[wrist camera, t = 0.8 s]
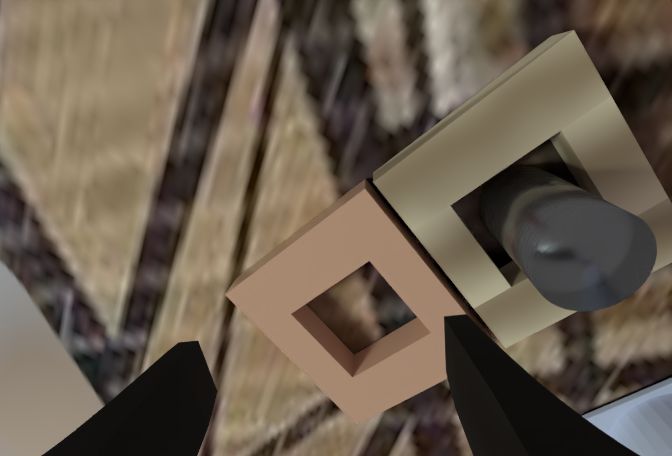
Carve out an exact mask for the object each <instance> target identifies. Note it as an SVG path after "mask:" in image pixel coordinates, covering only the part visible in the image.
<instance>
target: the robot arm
mask: <svg viewBox="0 0 672 456" xmlns="http://www.w3.org/2000/svg"><path fill="white" fill-rule="evenodd" d="M444 333H445V360H446V374H447V378H448V382H449V386H450V390H451V393H452V397H453V401H454V405H455V408H456V411H457V413H458V416H459V419H460V421H461V424H462V427H463V429H464V432H465V435H466V437H467V440H468V443H469V445H470V448H471V450H472V453H473V456H672V378H669V379H667V380H664V381H662V382H660V383H657V384H655V385H653V386H650V387H648V388H646V389H643V390H641V391H639V392H636V393H634V394H632V395H629V396H627V397H625V398H622V399H620V400H618V401H615V402H613V403H610V404H608V405H606V406H603V407H601V408H599V409H596V410H594V411H592V412H589V413H587V414H585V415H583V416H581V415H580V414H578V413H577V412H576V411H574V410H573V409H572V408H570V407H569V406H568V405H566V404H565V403H564V402H563V401H561V400H560V399H559V398H557V397H556V396H555V395H554V394H552V393H551V392H550V391H549V390H548V389H546V388H545V387H544V386H543V385H542V384H540V383H539V382H538V381H537V380H536V379H534V378H533V377H532V376H531V375H530V374H529V373H527V372H526V371H525V370H524V369H523V368H522V367H521V366H520V365H519V364H517V363H516V362H515V361H514V360H513V359H512V358H511V357H510V356H509V355H508V354H506V353H505V352H504V351H503V350H502V349H501V348H500V347H499V346H498V345H497V344H496V343H495V342H494V341H493V340H492V339H491V338H490V337H489V336H488V335H487V334H486V333H485V332H484V331H483V330H482V329H481V328H480V327H479V326H478V325H477V324H476V323H475V322H474V321H473V320H472V319H471V318H470V317H469V316H468V315H467V314H463V315H452V316H444ZM216 394H217V389H216V387H215V384H214V382H213V379H212V376H211V374H210V371H209V368H208V366H207V363H206V360H205V358H204V355H203V352H202V350H201V347H200V344H199V342H198V341H190V342H180V343H178V344H176V345H175V346H174V347H172V348H171V349H170V350H169V351H168V352H166V353H165V354H164V355H163V356H162V357H161V358H159V359H158V360H157V361H156V362H155V363H154V364H153V365H151V366H150V367H149V368H148V369H147V370H146V371H145V372H144V373H142V374H141V375H140V376H139V377H138V378H137V379H136V380H134V381H133V382H132V383H131V384H130V385H129V386H128V387H126V388H125V389H124V390H123V391H122V392H121V393H120V394H118V395H117V396H116V397H115V398H114V399H113V400H111V401H110V402H109V403H108V404H107V405H105V406H104V407H103V408H102V409H101V410H99V411H98V412H97V413H96V414H94V415H93V416H92V417H91V418H90V419H89V420H87V421H86V422H85V423H84V424H82V425H81V426H80V427H79V428H77V429H76V430H75V431H74V432H72V433H71V434H70V435H69V436H67V437H66V438H65V439H64V440H62V441H61V442H60V443H58V444H57V445H56V446H54V447H53V448H52V449H50V450H49V451H48V452H46V453H45V454H43V455H42V456H197V455H198V452H199V450H200V447H201V444H202V442H203V439H204V437H205V434H206V431H207V428H208V426H209V422H210V418H211V415H212V411H213V407H214V403H215V398H216Z"/></svg>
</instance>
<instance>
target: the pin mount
mask: <svg viewBox="0 0 672 456" xmlns="http://www.w3.org/2000/svg"><path fill="white" fill-rule="evenodd" d="M548 139H550V140H551V142H552V143H553V145H554V147H555V148H556V150H557V151H558V153H559V155H560V156H561V158H562V159H563V161H564V163H565V164H566V166H567V167H568V169H569V170H570V172H571V174H572V175H573V177H574V178H575V180H576V182H577V183H578V185H579V186H580V188H581V189H583V190H585V191H587V192H590V193H592V194H594V195H596V196H598V197H600V198H602V199H604V200H606V201H608V202H610V203H612V204H614V205H616V206H618V207H620V208H622V209H624V210H626V211H628V212H630V213H632V214H634V215H636V216H638V217H639V218H641V219H642V220H643V221H644V222H645V223H646V224H648V226H649V227H650V229H651V230H652V232H653V234H654V236H655V239H656V243H657V257H656V261H655V265H654V267H653V270H652V272H654V271H656V270H658V269H660V268H662V267H664V266H666V265H668V264H670V263H672V203H671V201H670V199H669V198H668V196H667V194H666V192H665V191H664V189H663V187H662V185H661V183H660V182H659V180H658V178H657V176H656V175H655V173H654V171H653V169H652V167H651V166H650V164H649V162H648V160H647V159H646V157H645V155H644V153H643V152H642V150H641V148H640V146H639V144H638V143H637V141H636V139H635V137H634V136H633V134H632V132H631V130H630V128H629V127H628V125H627V123H626V121H625V120H624V118H623V116H622V114H621V112H620V111H619V109H618V107H617V105H616V104H615V102H614V100H613V98H612V96H611V95H610V93H609V91H608V89H607V88H606V86H605V84H604V82H603V80H602V79H601V77H600V75H599V73H598V72H597V70H596V68H595V66H594V64H593V63H592V61H591V59H590V57H589V56H588V54H587V52H586V50H585V49H584V47H583V45H582V43H581V41H580V40H579V38H578V36H577V34H576V33H575V31H574V30H572V31H568V32H565V33H561V34H557V35H554V36H551V37H549V38H548V39H547V40H545V41H544V42H543V43H542V44H540V45H539V46H538V47H536V48H535V49H534V50H532V51H531V52H530V53H529V54H527V55H526V56H525V57H523V58H522V59H521V60H519V61H518V62H517V63H516V64H514V65H513V66H512V67H510V68H509V69H508V70H506V71H505V72H504V73H502V74H501V75H500V76H499V77H497V78H496V79H495V80H493V81H492V82H491V83H489V84H488V85H487V86H486V87H484V88H483V89H482V90H480V91H479V92H478V93H476V94H475V95H474V96H473V97H471V98H470V99H469V100H467V101H466V102H465V103H463V104H462V105H461V106H460V107H458V108H457V109H456V110H454V111H453V112H452V113H450V114H449V115H448V116H447V117H445V118H444V119H443V120H441V121H440V122H439V123H437V124H436V125H435V126H434V127H432V128H431V129H430V130H428V131H427V132H426V133H424V134H423V135H422V136H421V137H419V138H418V139H417V140H415V141H414V142H413V143H411V144H410V145H409V146H407V147H406V148H405V149H404V150H402V151H401V152H400V153H398V154H397V155H396V156H394V157H393V158H392V159H391V160H389V161H388V162H387V163H385V164H384V165H383V166H381V167H380V168H379V169H378V170H376V171H375V172H374V173H373V183H374V184H375V185H376V187H377V188H378V189H379V190H380V192H381V193H382V194H383V195H384V197H385V198H386V199H387V200H388V202H389V203H390V204H391V205H392V207H393V208H394V209H395V210H396V212H397V213H398V214H399V215H400V217H401V218H402V219H403V220H404V222H405V223H406V224H407V226H408V227H409V228H410V229H411V231H412V232H413V233H414V234H415V236H416V237H417V238H418V239H419V241H420V242H421V243H422V244H423V246H424V247H425V248H426V249H427V251H428V252H429V253H430V254H431V256H432V257H433V258H434V259H435V261H436V262H437V263H438V264H439V266H440V267H441V268H442V269H443V271H444V272H445V273H446V274H447V276H448V277H449V278H450V279H451V281H452V282H453V283H454V284H455V286H456V287H457V288H458V289H459V291H460V292H461V293H462V294H463V296H464V297H465V298H466V299H467V301H468V302H469V303H470V304H471V306H472V307H473V308H474V310H475V311H476V312H477V313H478V315H479V316H480V317H481V318H482V320H483V321H484V322H485V323H486V325H487V326H488V327H489V328H490V330H491V331H492V332H493V333H494V335H495V336H496V337H497V338H498V340H499V341H500V342H501V343H502V345H503V346H504V347H505V348H507V347H509V346H511V345H513V344H515V343H517V342H519V341H521V340H523V339H524V338H526V337H528V336H530V335H532V334H534V333H536V332H538V331H540V330H542V329H544V328H546V327H548V326H550V325H552V324H553V323H555V322H557V321H559V320H561V319H563V318H565V317H567V316H569V315H571V314H573V313H575V312H577V311H572V310H566V309H563V308H560V307H558V306H556V305H554V304H552V303H550V302H549V301H548V300H546V299H545V298H544V297H543V296H542V295H541V294H540V292H539V291H538V290H537V289H536V287H535V286H534V285H533V284H532V283H531V281H530V280H529V279H528V278H527V276H526V275H525V274H524V273H523V271H522V270H521V269H520V268H519V266H518V265H517V264H516V263H515V262H514V260H513V261H512V262H510V263H508V264H507V265H505V266H503V267H501V268H500V269H498V267H497V266H496V265H495V263H494V262H493V261H492V259H491V258H490V257H489V255H488V254H487V253H486V251H485V250H484V249H483V247H482V246H481V245H480V243H479V242H478V241H477V239H476V238H475V237H474V235H473V234H472V233H471V231H470V230H469V229H468V227H467V226H466V225H465V223H464V222H463V221H462V219H461V218H460V217H459V215H458V214H457V213H456V211H455V210H454V209H453V207H452V206H451V205H452V204H453V203H455V202H456V201H458V200H459V199H461V198H462V197H464V196H465V195H467V194H468V193H470V192H471V191H473V190H474V189H476V188H477V187H478V186H480V185H481V184H483V183H484V182H486V181H487V180H489V179H490V178H492V177H493V176H495V175H496V174H498V173H499V172H500V171H502V170H503V169H505V168H506V167H508V166H509V165H511V164H512V163H514V162H515V161H517V160H518V159H520V158H521V157H523V156H524V155H525V154H527V153H528V152H530V151H531V150H533V149H534V148H536V147H537V146H539V145H540V144H542V143H543V142H545V141H546V140H548ZM652 272H651V273H652Z"/></svg>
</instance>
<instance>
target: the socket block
mask: <svg viewBox="0 0 672 456" xmlns="http://www.w3.org/2000/svg"><path fill="white" fill-rule="evenodd" d="M368 261H370V262H371V263H372V264H373V266H374V267H375V268H376V269H377V270H378V271H379V273H380V274H381V275H382V276H383V277H384V278H385V280H386V281H387V282H388V283H389V284H390V285H391V287H392V288H393V289H394V290H395V291H396V293H397V294H398V295H399V296H400V297H401V298H402V300H403V301H404V302H405V303H406V304H407V305H408V307H409V308H410V309H411V310H412V311H413V312H414V314H415V315H416V316H417V318H415V319H414V320H412V321H410V322H409V323H407V324H405V325H404V326H402V327H400V328H398V329H397V330H395V331H393V332H392V333H390V334H388V335H387V336H385V337H383V338H382V339H380V340H378V341H377V342H375V343H373V344H371V345H370V346H368V347H366V348H365V349H363V350H361V351H360V352H358V353H356V354H355V355H354V354H353V353H352V352H351V351H350V350H349V349H348V348H347V347H346V346H345V345H344V344H343V343H342V342H341V340H340V339H339V338H338V337H337V336H336V335H335V334H334V333H333V332H332V331H331V330H330V329H329V328H328V327H327V326H326V325H325V324H324V323H323V321H322V320H321V319H320V318H319V317H318V316H317V315H316V314H315V313H314V312H313V311H312V310H311V309H310V308H309V307H308V306H307V305H306V303H308V302H309V301H311V300H312V299H314V298H315V297H317V296H318V295H320V294H321V293H323V292H324V291H326V290H327V289H329V288H330V287H331V286H333V285H334V284H336V283H337V282H339V281H340V280H342V279H343V278H345V277H346V276H348V275H349V274H351V273H352V272H354V271H355V270H356V269H358V268H359V267H361V266H362V265H364V264H365V263H367V262H368ZM225 295H226V296H227V297H228V298H229V299H230V300H231V301H232V302H233V303H234V304H235V305H236V306H237V307H238V308H239V309H240V310H241V311H242V312H243V313H244V314H245V315H246V316H247V317H248V318H249V319H250V320H251V321H252V322H253V323H254V324H255V325H256V326H257V327H258V328H259V329H260V330H261V331H262V332H263V333H264V334H265V335H266V336H267V337H268V338H269V339H270V340H271V341H272V342H273V343H274V344H275V345H276V346H277V347H278V348H279V349H281V350H282V351H283V352H284V353H285V354H286V355H287V356H288V357H289V358H290V359H291V360H292V361H293V362H294V363H295V364H296V365H297V366H298V367H299V368H300V369H301V370H302V371H303V372H304V373H305V374H306V375H307V376H308V377H309V378H310V379H311V380H312V381H313V382H314V383H315V384H316V385H317V386H318V387H319V388H320V389H321V390H322V391H323V392H324V393H325V394H326V395H327V396H328V397H329V398H330V399H331V400H332V401H333V402H334V403H335V404H336V405H337V406H338V407H339V408H340V409H341V410H342V411H343V412H344V413H345V414H346V415H347V416H348V417H349V418H350V419H351V420H352V421H353V422H354V423H355V424H356V425H358V424H360V423H362V422H364V421H366V420H368V419H370V418H372V417H374V416H375V415H377V414H379V413H381V412H383V411H385V410H387V409H389V408H391V407H393V406H395V405H397V404H399V403H401V402H403V401H404V400H406V399H408V398H410V397H412V396H414V395H416V394H418V393H420V392H422V391H424V390H426V389H428V388H430V387H432V386H433V385H435V384H437V383H439V382H441V381H443V380H445V379H447V374H446V360H445V333H444V316H452V315H463V314H467V315H468V316H469V317H470V318H471V319H472V320H473V321H474V322H475V323H476V324H477V325H478V326H479V327H480V328H481V329H482V330H483V331H484V332H485V333H486V334H487V335H488V336H489V334H488V332H487V330H486V328H485V327H484V326H483V325H482V323H481V322H480V321H479V320H478V318H477V317H476V316H475V315H474V314H473V312H472V311H471V310H470V309H469V307H468V306H467V305H466V304H465V302H464V301H463V300H462V299H461V297H460V296H459V295H458V294H457V292H456V291H455V290H454V289H453V287H452V286H451V285H450V284H449V282H448V281H447V280H446V279H445V277H444V276H443V275H442V274H441V272H440V271H439V270H438V269H437V267H436V266H435V265H434V264H433V262H432V261H431V260H430V259H429V257H428V256H427V255H426V254H425V252H424V251H423V250H422V249H421V247H420V246H419V245H418V244H417V242H416V241H415V240H414V239H413V237H412V236H411V235H410V234H409V232H408V231H407V230H406V229H405V227H404V226H403V225H402V224H401V222H400V221H399V220H398V219H397V217H396V216H395V215H394V214H393V212H392V211H391V210H390V209H389V207H388V206H387V205H386V204H385V202H384V201H383V200H382V199H381V197H380V196H379V195H378V194H377V192H376V191H375V190H374V189H373V187H372V186H371V185H370V184H369V182H368V181H367V180H366V179H365V180H363V181H362V182H361V183H359V184H358V185H357V186H355V187H354V188H353V189H352V190H350V191H349V192H348V193H346V194H345V195H344V196H342V197H341V198H340V199H339V200H337V201H336V202H335V203H333V204H332V205H331V206H329V207H328V208H327V209H325V210H324V211H323V212H322V213H320V214H319V215H318V216H316V217H315V218H314V219H312V220H311V221H310V222H309V223H307V224H306V225H305V226H303V227H302V228H301V229H299V230H298V231H297V232H296V233H294V234H293V235H292V236H290V237H289V238H288V239H286V240H285V241H284V242H283V243H281V244H280V245H279V246H277V247H276V248H275V249H273V250H272V251H271V252H270V253H268V254H267V255H266V256H264V257H263V258H262V259H260V260H259V261H258V262H257V263H255V264H254V265H253V266H251V267H250V268H249V269H247V270H246V271H245V272H244V273H242V274H241V275H240V276H238V277H237V278H236V280H235V281H234V283H233V284H232V285H231V287H230V288H229V290H228V291H227V293H226V294H225ZM489 337H490V336H489Z"/></svg>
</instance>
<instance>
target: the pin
mask: <svg viewBox="0 0 672 456" xmlns="http://www.w3.org/2000/svg"><path fill="white" fill-rule="evenodd" d="M479 213H480V217H481V219H482V221H483V223H484V224H485V226H486V227H487V228H488V229H489V231H490V232H491V233H492V234H493V236H494V237H495V238H496V239H497V240H498V242H499V243H500V244H501V245H502V247H503V248H504V249H505V250H506V252H507V253H508V254H509V255H510V257H511V258H512V259H513V260H514V262H515V263H516V264H517V265H518V266H519V268H520V269H521V270H522V271H523V273H524V274H525V275H526V276H527V278H528V279H529V280H530V281H531V283H532V284H533V285H534V286H535V287H536V289H537V290H538V291H539V292H540V294H541V295H542V296H543V297H544V298H545V299H546V300H548V301H549V302H550V303H552V304H554V305H556V306H558V307H560V308H563V309H566V310H572V311H594V310H599V309H603V308H607V307H610V306H612V305H615V304H617V303H619V302H621V301H623V300H624V299H626V298H628V297H629V296H630V295H632V294H633V293H634V292H635V291H637V290H638V289H639V288H640V287H641V286H642V285H643V283H644V282H645V281H646V280H647V278H648V277H649V275H650V273H651V272H652V270H653V267H654V265H655V261H656V257H657V243H656V239H655V236H654V234H653V232H652V230H651V229H650V227H649V226H648V224H646V223H645V222H644V221H643V220H642V219H641V218H639V217H638V216H636V215H634V214H632V213H630V212H628V211H626V210H624V209H622V208H620V207H618V206H616V205H614V204H612V203H610V202H608V201H606V200H604V199H602V198H600V197H598V196H596V195H594V194H592V193H590V192H587V191H585V190H583V189H581V188H579V187H577V186H575V185H573V184H571V183H569V182H567V181H565V180H563V179H561V178H559V177H557V176H555V175H553V174H551V173H549V172H547V171H545V170H543V169H541V168H539V167H535V166H531V165H518V166H513V167H510V168H507V169H505V170H503V171H501V172H499V173H498V174H496V175H495V176H494V177H493V178H492V179H491V180H490V181H489V182H488V183H487V184H486V186H485V187H484V189H483V191H482V193H481V196H480V200H479Z"/></svg>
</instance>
